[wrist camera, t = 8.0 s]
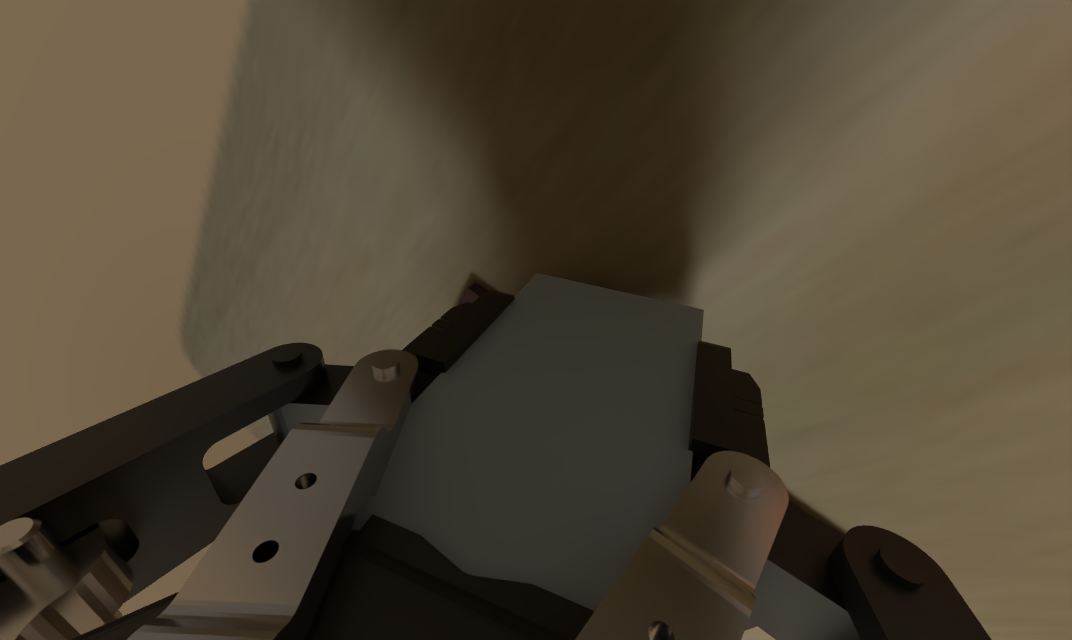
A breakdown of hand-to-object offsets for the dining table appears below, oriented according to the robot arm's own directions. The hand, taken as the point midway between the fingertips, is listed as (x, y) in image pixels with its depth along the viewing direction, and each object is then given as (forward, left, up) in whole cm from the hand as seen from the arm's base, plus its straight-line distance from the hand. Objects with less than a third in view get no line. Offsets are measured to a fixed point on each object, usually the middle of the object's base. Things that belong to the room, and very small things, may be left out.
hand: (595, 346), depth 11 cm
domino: (0, 0, -2) cm, 2 cm away
